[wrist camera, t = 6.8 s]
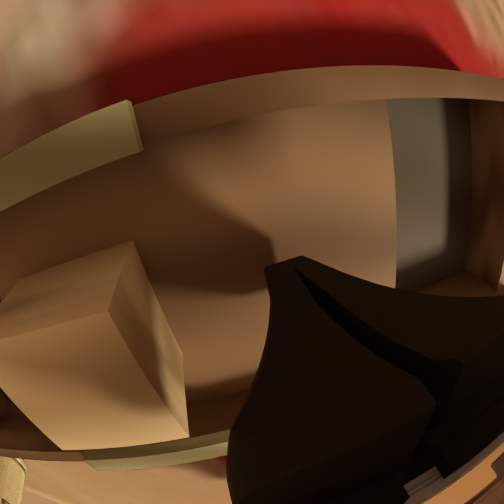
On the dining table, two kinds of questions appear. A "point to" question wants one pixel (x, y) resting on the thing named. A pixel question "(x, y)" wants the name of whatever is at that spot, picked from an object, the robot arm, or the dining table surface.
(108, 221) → the trap lane
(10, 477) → the coffee can
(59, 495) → the dining table surface
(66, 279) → the birch block
